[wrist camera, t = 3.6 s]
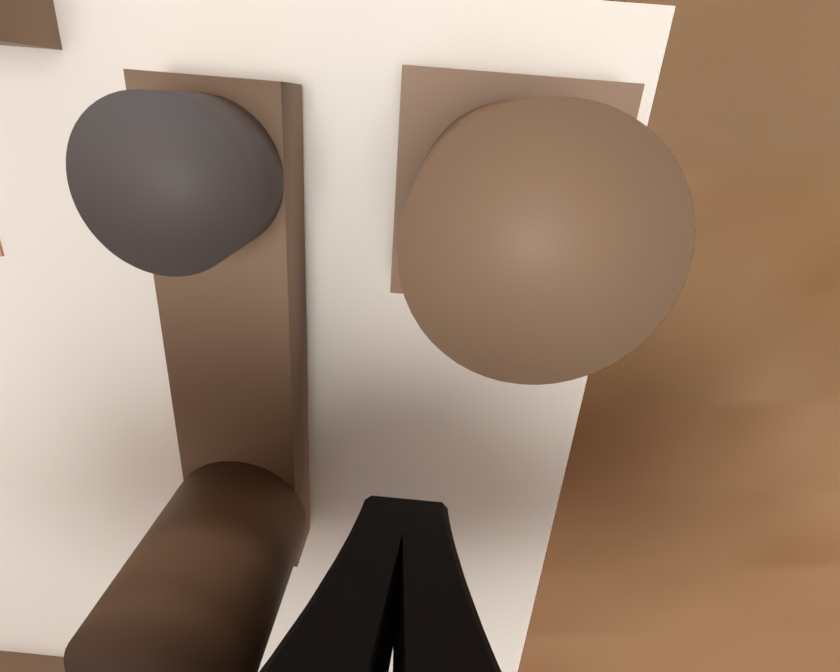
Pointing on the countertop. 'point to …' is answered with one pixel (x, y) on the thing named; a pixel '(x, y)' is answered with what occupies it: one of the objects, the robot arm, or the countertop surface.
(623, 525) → the countertop surface
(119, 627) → the hinged leg
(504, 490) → the white board with posts
